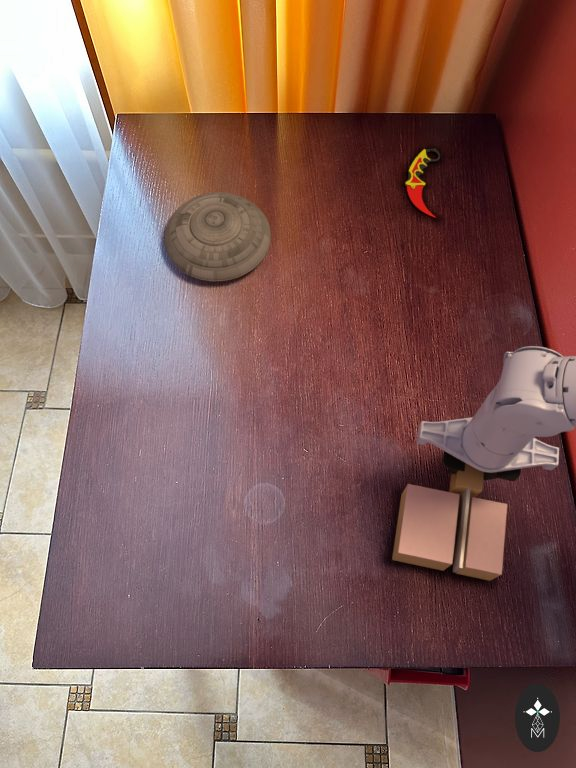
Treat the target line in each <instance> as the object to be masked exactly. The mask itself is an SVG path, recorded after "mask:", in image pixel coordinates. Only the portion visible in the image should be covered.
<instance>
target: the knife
mask: <svg viewBox="0 0 576 768" xmlns="http://www.w3.org/2000/svg"><path fill="white" fill-rule="evenodd" d="M430 152H433V153H434V154H436V155H437V158H434V159H433V158H431V157H429V156H428V153H430ZM440 158H441V153H440V151H438V150H437V147H435V148H434V147H433V148H426V149H425V148H424V149H422V150H421V152H419V153H418V155H417V156H415V158H414V160H413V161H412V163H411V165H410V166H409V169H408V171H407V174H408V177H407V180H406V181H405V183H404V187H406V192H407V195H408V197H409V200H410V202H411V203H412V204H413V205H414V206H415V208H417V209H418V210H419V211H421V212H422V213H423V214H426V215H427V216H430V217H433V218H436V219H437V217H436V216H435V215H434V214H433V213H432V212H431V211H429V209H428V207H427V206H426V205H425V203H424V201H423V188H425V187H426V181H425V182H424V181H423V180H422V179H420V176H421V175H423V174H424V171H423V170H425V169H426V168H428V164H429V163H436V162H438V161H439V160H441V159H440Z"/></svg>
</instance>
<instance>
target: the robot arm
mask: <svg viewBox="0 0 576 768" xmlns="http://www.w3.org/2000/svg"><path fill="white" fill-rule="evenodd" d="M502 364H503V367H502V370H501V371H502V372H501V374H500V378H499V381H498V382H497V383H496V385H495V386H494V388H493V389H492V390H491V391H490V392H489V393H488V395H487V396H486V398H485V399H484V401H483V402H482V403H481V405H480V406H479V408H478V409H477V411H476V412H475V414H474V415H473V416H471V417H464V418H456V419H449V420H442V421H427V420H421V422H420V424H419V426H418V429H417V436H416V443H415V444H417V445H420V446H426V445H427V444H430V445H432V446H435V447H436V448H439V449H440V450H442V451H443V455H442V464H443V467H444V468H446V469H447V473H448V474H450V475H451V474H456V473H457V472H458V471H465V463H467V464H468V465H470V466H472V467H474V468H475V469H478V470H480V471H483V472H484V478H483V481H490V480H494V479H495V480H496V479H500V480H504V481H509V482H515V481H516V480H518V479H519V478H520V476H521V472H522V469H531V468H536V467H541V468H542V469H543V470H547V471H553V470H554V469H556V468H557V467H558V466H559V462H560V447H557V446H554V445H551V444H548V443H546V442H543V441H541V440H539V439H538V438H550V437H554V436H558V435H559V434H561V433H564V432H572V431H575V428H576V355H568V356H564V355H563V354H561V353H559V352H558V351H556V350H554V349H551V348H548V347H544V346H538V345H537V346H536V345H529V346H522V347H519V348H517V349H516V350H514V351H506V352H504V354H503V359H502ZM536 437H537V438H536Z"/></svg>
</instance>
